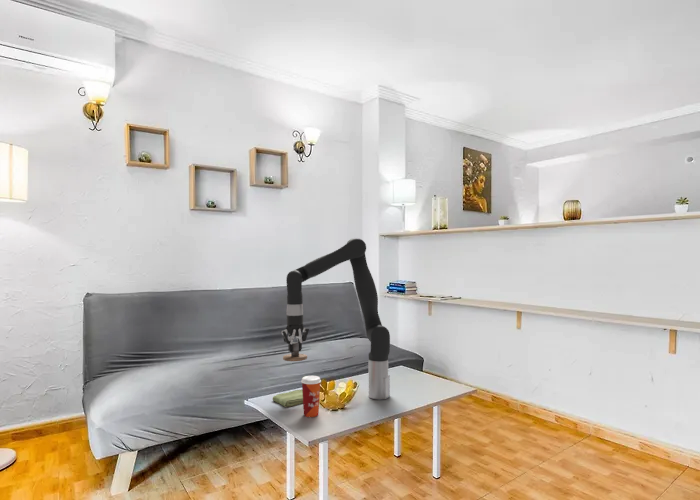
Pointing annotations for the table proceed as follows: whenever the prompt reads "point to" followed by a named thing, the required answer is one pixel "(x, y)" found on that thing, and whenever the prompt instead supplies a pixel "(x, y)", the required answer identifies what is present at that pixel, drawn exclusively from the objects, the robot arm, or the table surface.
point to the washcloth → (289, 398)
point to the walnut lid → (295, 354)
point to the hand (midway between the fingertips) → (295, 351)
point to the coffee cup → (311, 395)
